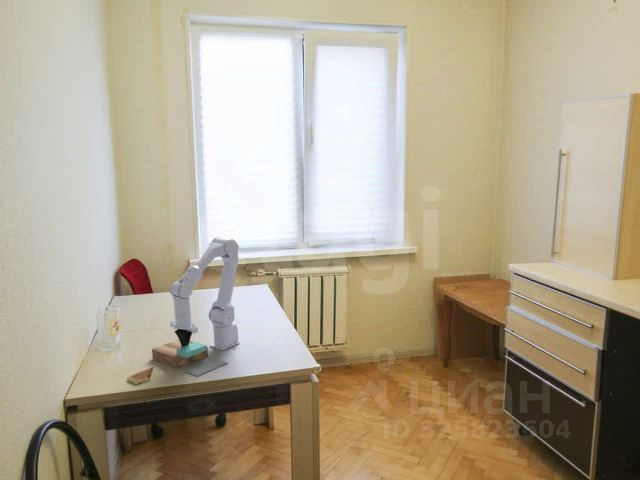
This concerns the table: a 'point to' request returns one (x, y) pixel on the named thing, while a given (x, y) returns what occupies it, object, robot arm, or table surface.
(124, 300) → the table surface
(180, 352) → the aqua rectangular block
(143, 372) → the shard
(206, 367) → the grey flat slab
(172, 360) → the brown wooden flat block
